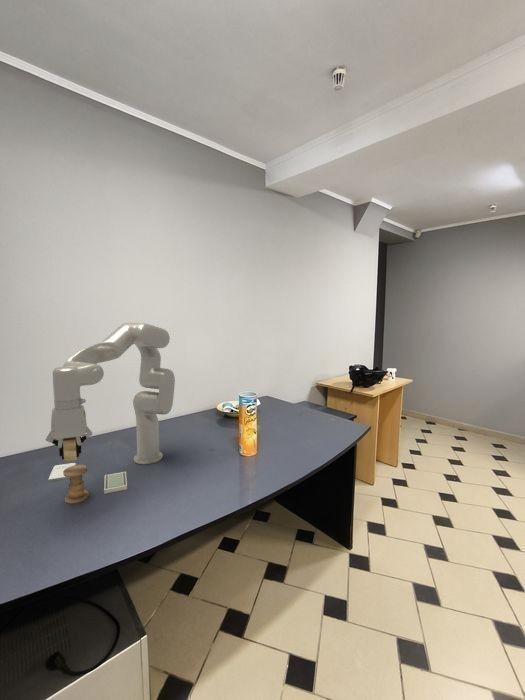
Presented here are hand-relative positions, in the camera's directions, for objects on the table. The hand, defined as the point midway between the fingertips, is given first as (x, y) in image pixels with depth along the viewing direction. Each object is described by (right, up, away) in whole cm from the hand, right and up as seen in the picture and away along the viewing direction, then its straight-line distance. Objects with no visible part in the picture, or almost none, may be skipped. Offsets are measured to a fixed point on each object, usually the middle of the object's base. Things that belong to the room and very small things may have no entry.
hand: (70, 456), depth 112 cm
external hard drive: (-19, -16, +27) cm, 37 cm away
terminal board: (+7, -17, +19) cm, 27 cm away
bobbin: (-3, -18, +10) cm, 21 cm away
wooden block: (0, -1, 0) cm, 1 cm away
